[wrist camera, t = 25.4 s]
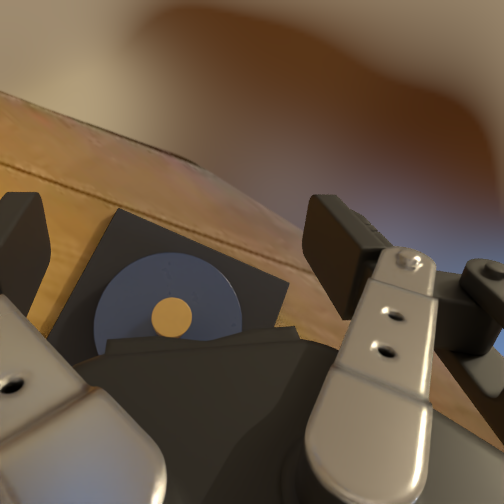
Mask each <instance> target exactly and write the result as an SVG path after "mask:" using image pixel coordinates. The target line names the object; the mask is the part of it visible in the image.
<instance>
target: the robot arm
mask: <svg viewBox="0 0 504 504" xmlns="http://www.w3.org/2000/svg"><path fill="white" fill-rule="evenodd" d="M302 249H303V254H304V256H305V258H306V260H307V262H308V263H309V265H310V267H311V268H312V270H313V272H314V273H315V275H316V277H317V278H318V280H319V282H320V283H321V285H322V287H323V288H324V290H325V291H326V293H327V295H328V296H329V298H330V300H331V301H332V303H333V305H334V306H335V308H336V310H337V311H338V313H339V315H340V316H341V318H342V320H351V322H350V325H349V327H348V330H347V332H346V335H345V337H344V340H343V342H342V345H341V347H340V349H339V350H337V349H334V348H332V347H329V346H327V345H324V344H321V343H317V342H314V341H309V340H303V339H300V337H299V335H298V333H297V331H296V328H295V326H289V327H275V328H261V329H251V330H247V331H243V332H240V333H236V334H232V335H229V336H225V337H221V338H217V339H214V340H209V341H199V340H190V339H181V338H172V337H163V336H148V337H134V338H119V339H107V342H106V349H105V354H103V355H100V356H96V357H93V358H91V359H88V360H85V361H83V362H81V363H78V364H76V365H74V366H72V367H71V366H70V365H69V363H68V362H67V361H66V360H65V359H64V358H63V357H62V356H61V355H60V354H59V353H58V352H57V351H56V349H55V348H54V347H53V346H52V345H51V344H50V343H49V342H48V341H47V340H46V339H45V338H44V337H43V335H42V334H41V333H40V332H39V331H38V330H37V329H36V328H35V327H34V326H33V325H32V324H31V323H30V321H29V320H28V319H27V318H26V317H27V314H28V312H29V310H30V307H31V305H32V303H33V300H34V298H35V296H36V293H37V291H38V289H39V286H40V284H41V282H42V279H43V277H44V274H45V272H46V270H47V267H48V265H49V262H50V256H51V247H50V240H49V234H48V229H47V224H46V219H45V214H44V208H43V203H42V199H41V196H40V195H39V193H38V192H7V193H6V194H5V195H4V196H3V197H2V199H1V200H0V504H504V453H503V452H502V451H500V450H499V449H497V448H495V447H494V446H492V445H491V444H489V443H487V442H486V441H484V440H483V439H481V438H479V437H478V436H476V435H475V434H473V433H471V432H470V431H468V430H467V429H465V428H463V427H462V426H460V425H459V424H457V423H455V422H454V421H452V420H451V419H449V418H447V417H446V416H444V415H443V414H441V413H439V412H438V411H436V410H435V409H433V408H432V404H431V403H430V402H429V390H430V380H431V370H432V360H433V350H434V351H435V353H436V354H437V355H438V357H439V358H440V359H441V361H442V362H443V363H444V365H445V366H446V368H447V369H448V370H449V372H450V373H451V374H452V376H453V377H454V378H455V380H456V381H457V382H458V384H459V385H460V387H461V388H462V389H463V391H464V392H465V393H466V395H467V396H468V397H469V399H470V400H471V401H472V403H473V404H474V406H475V407H476V408H477V410H478V411H479V412H480V414H481V415H482V416H483V418H484V419H485V420H486V422H487V423H488V425H489V426H490V427H491V429H492V430H493V431H494V433H495V434H496V435H497V437H498V438H499V439H500V441H501V442H502V444H503V445H504V358H503V356H502V355H501V354H500V353H499V352H498V351H497V350H496V349H495V348H494V347H493V345H494V343H495V341H496V339H497V337H498V335H499V333H500V332H501V330H502V328H503V329H504V264H502V263H499V262H496V261H492V260H488V259H471V260H469V261H468V262H467V263H466V266H465V268H464V270H463V273H462V274H456V273H449V272H442V271H436V264H435V263H434V261H433V260H432V259H431V258H430V257H428V256H427V255H425V254H423V253H421V252H419V251H416V250H414V249H410V248H406V247H398V246H397V247H395V246H393V245H392V244H391V243H390V242H389V241H388V240H387V239H386V238H385V237H384V236H383V235H382V234H381V233H380V232H378V231H377V229H376V228H375V227H374V226H372V225H371V223H370V222H369V221H368V220H367V219H366V218H365V217H364V216H362V215H360V214H359V213H357V212H355V211H353V210H351V209H349V208H348V207H347V206H346V205H345V204H344V203H343V202H342V201H341V199H340V198H338V197H337V196H336V195H312V196H311V198H310V200H309V204H308V210H307V215H306V221H305V227H304V232H303V238H302Z"/></svg>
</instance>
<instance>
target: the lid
mask: <svg viewBox="0 0 504 504" xmlns="http://www.w3.org/2000/svg"><path fill="white" fill-rule="evenodd" d="M240 332H242V314H241V309H240V304H239V301H238V298H237V296H236V294H235V291H234V289H233V288H232V286H231V285H230V283H229V281H228V280H227V279H226V278H225V277H224V275H223V274H222V273H221V272H219V271H218V270H217V269H216V268H215V267H213V266H212V265H211V264H209V263H208V262H206V261H204V260H202V259H200V258H197V257H195V256H192V255H188V254H184V253H175V252H168V253H158V254H153V255H149V256H146V257H143V258H141V259H138V260H136V261H135V262H133V263H131V264H129V265H128V266H126V267H125V268H124V269H122V270H121V271H120V272H119V273H118V274H117V275H116V276H115V277H114V278H113V279H112V280H111V281H110V283H109V284H108V285H107V287H106V288H105V290H104V291H103V293H102V295H101V297H100V300H99V302H98V305H97V308H96V311H95V317H94V327H93V333H94V342H95V346H96V350H97V353H98V355H99V356H100V355H103V354H105V349H106V342H107V339H119V338H134V337H148V336H163V337H172V338H181V339H190V340H199V341H209V340H214V339H217V338H221V337H225V336H229V335H232V334H236V333H240Z"/></svg>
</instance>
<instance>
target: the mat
mask: <svg viewBox="0 0 504 504" xmlns="http://www.w3.org/2000/svg"><path fill="white" fill-rule="evenodd" d="M168 252H175V253H184V254H188V255H192V256H195V257H197V258H200V259H202V260H204V261H206V262H208V263H209V264H211V265H212V266H213V267H215V268H216V269H217V270H218V271H219V272H221V273H222V274H223V275H224V277H225V278H226V279H227V280H228V281H229V283H230V285H231V286H232V288H233V289H234V291H235V294H236V296H237V298H238V301H239V304H240V309H241V314H242V332H243V331H247V330H251V329H261V328H274V325H275V323H276V320H277V317H278V314H279V312H280V309H281V306H282V303H283V301H284V298H285V295H286V292H287V290H288V287H289V284H290V283H288V282H286V281H284V280H282V279H279V278H277V277H275V276H272V275H270V274H268V273H266V272H263V271H261V270H259V269H256V268H254V267H252V266H250V265H247V264H245V263H243V262H241V261H238V260H236V259H234V258H231V257H229V256H227V255H225V254H222V253H220V252H218V251H216V250H213V249H211V248H209V247H206V246H204V245H202V244H200V243H197V242H195V241H193V240H191V239H188V238H186V237H184V236H181V235H179V234H177V233H175V232H172V231H170V230H168V229H165V228H163V227H161V226H159V225H156V224H154V223H152V222H150V221H147V220H145V219H143V218H140V217H138V216H136V215H134V214H131V213H129V212H127V211H125V210H122V209H120V208H118V209H117V211H116V213H115V215H114V217H113V218H112V220H111V222H110V224H109V226H108V228H107V229H106V231H105V233H104V235H103V237H102V239H101V240H100V242H99V244H98V246H97V248H96V250H95V251H94V253H93V255H92V257H91V259H90V261H89V262H88V264H87V266H86V268H85V270H84V272H83V273H82V275H81V277H80V279H79V281H78V283H77V284H76V286H75V288H74V290H73V292H72V294H71V295H70V297H69V299H68V301H67V303H66V304H65V306H64V308H63V310H62V312H61V314H60V315H59V317H58V319H57V321H56V323H55V325H54V326H53V328H52V330H51V332H50V334H49V336H48V337H47V339H46V340H47V341H48V342H49V343H50V344H51V345H52V346H53V347H54V348H55V349H56V351H57V352H58V353H59V354H60V355H61V356H62V357H63V358H64V359H65V360H66V361H67V362H68V363H69V365H70V366H71V367H72V366H74V365H76V364H78V363H81V362H83V361H85V360H88V359H91V358H93V357H96V356H99V355H98V353H97V350H96V346H95V342H94V333H93V327H94V317H95V311H96V308H97V305H98V302H99V300H100V297H101V295H102V293H103V291H104V290H105V288H106V287H107V285H108V284H109V283H110V281H111V280H112V279H113V278H114V277H115V276H116V275H117V274H118V273H119V272H120V271H121V270H122V269H124V268H125V267H126V266H128V265H129V264H131V263H133V262H135V261H136V260H138V259H141V258H143V257H146V256H149V255H153V254H158V253H168Z"/></svg>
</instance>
